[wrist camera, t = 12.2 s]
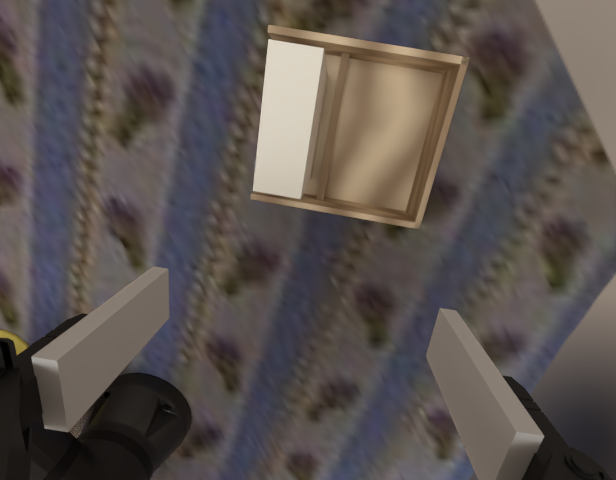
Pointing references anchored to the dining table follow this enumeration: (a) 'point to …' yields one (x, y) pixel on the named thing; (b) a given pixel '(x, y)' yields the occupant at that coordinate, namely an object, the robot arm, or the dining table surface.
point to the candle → (18, 342)
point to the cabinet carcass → (377, 128)
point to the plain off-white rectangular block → (290, 118)
